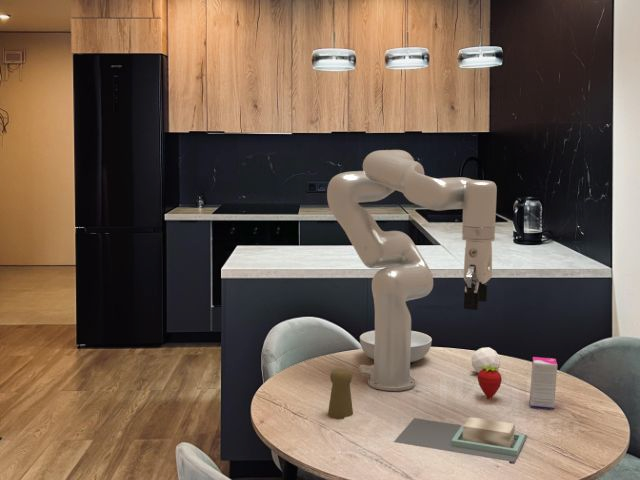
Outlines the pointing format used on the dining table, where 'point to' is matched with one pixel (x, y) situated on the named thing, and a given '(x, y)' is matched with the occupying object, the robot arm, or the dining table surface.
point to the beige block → (489, 432)
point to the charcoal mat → (443, 438)
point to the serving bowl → (418, 344)
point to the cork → (340, 394)
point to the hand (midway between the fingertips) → (475, 305)
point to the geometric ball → (485, 359)
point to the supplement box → (543, 383)
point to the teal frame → (486, 447)
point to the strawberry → (489, 380)
